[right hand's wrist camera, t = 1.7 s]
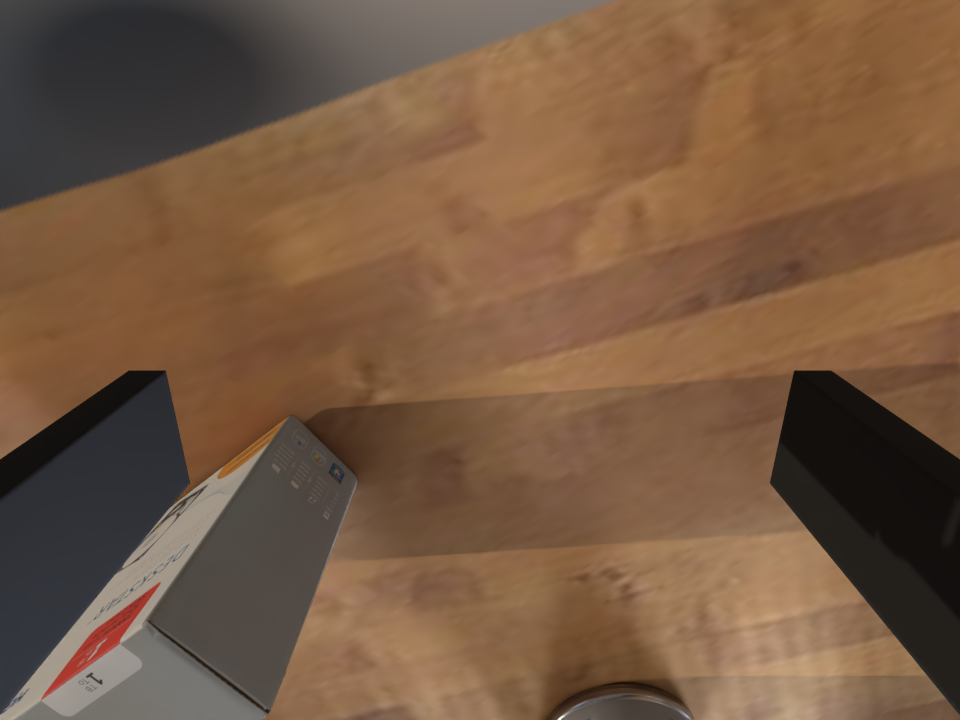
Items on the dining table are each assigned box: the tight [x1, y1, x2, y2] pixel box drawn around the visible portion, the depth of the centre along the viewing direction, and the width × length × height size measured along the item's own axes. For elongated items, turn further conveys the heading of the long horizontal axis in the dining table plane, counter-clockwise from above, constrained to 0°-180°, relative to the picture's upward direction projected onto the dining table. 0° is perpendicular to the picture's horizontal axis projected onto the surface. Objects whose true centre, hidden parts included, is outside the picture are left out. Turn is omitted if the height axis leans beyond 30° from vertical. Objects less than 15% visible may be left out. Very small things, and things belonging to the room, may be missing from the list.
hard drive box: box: [0, 415, 358, 720], centre depth 37 cm, size 16×8×20 cm, turn 128°
